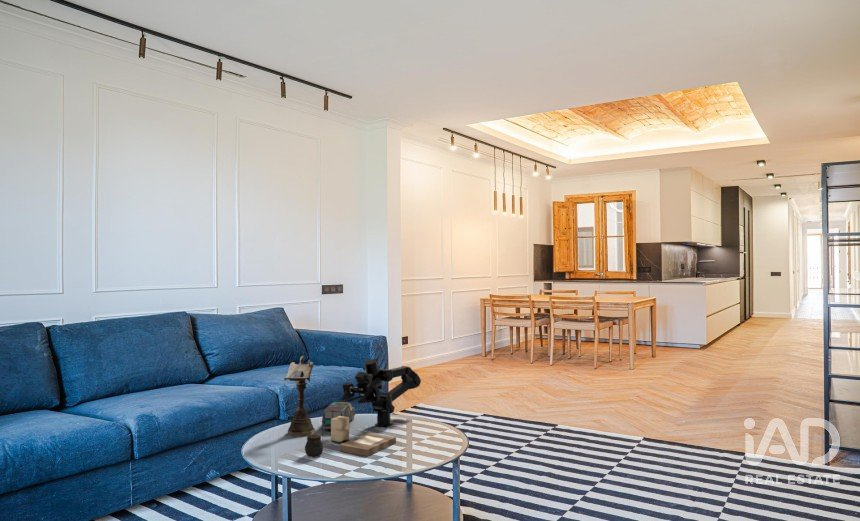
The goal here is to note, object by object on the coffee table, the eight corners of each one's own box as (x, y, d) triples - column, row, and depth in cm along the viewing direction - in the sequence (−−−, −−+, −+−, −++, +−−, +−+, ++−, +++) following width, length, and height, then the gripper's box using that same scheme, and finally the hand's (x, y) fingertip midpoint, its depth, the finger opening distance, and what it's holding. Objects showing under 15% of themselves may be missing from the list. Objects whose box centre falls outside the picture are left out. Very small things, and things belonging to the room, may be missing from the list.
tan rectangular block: (340, 438, 255) (340, 415, 255) (349, 440, 253) (349, 417, 253) (331, 442, 250) (330, 418, 250) (340, 444, 247) (340, 420, 248)
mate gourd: (321, 458, 229) (321, 433, 229) (302, 458, 229) (302, 433, 229) (324, 452, 236) (324, 428, 236) (306, 452, 236) (306, 428, 236)
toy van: (355, 418, 290) (355, 398, 291) (343, 432, 266) (343, 410, 266) (334, 418, 291) (334, 397, 292) (320, 432, 267) (320, 409, 267)
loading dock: (369, 438, 256) (369, 432, 256) (396, 443, 249) (396, 436, 249) (339, 450, 239) (339, 444, 239) (367, 456, 231) (367, 449, 232)
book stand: (310, 440, 254) (309, 358, 254) (280, 439, 255) (280, 358, 255) (321, 429, 270) (320, 353, 271) (293, 429, 271) (293, 353, 272)
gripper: (351, 366, 272) (330, 381, 259) (384, 370, 263) (364, 386, 250) (355, 388, 275) (334, 404, 262) (388, 393, 265) (368, 410, 252)
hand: (350, 401), depth 256 cm, fingers open, 9 cm apart
